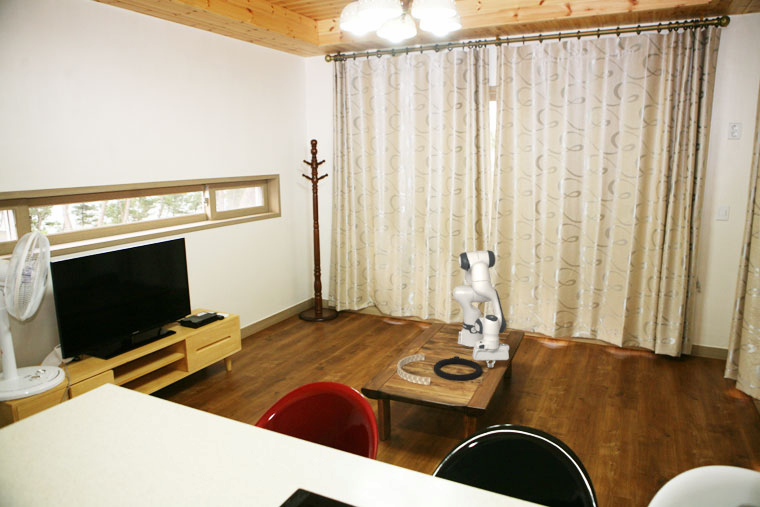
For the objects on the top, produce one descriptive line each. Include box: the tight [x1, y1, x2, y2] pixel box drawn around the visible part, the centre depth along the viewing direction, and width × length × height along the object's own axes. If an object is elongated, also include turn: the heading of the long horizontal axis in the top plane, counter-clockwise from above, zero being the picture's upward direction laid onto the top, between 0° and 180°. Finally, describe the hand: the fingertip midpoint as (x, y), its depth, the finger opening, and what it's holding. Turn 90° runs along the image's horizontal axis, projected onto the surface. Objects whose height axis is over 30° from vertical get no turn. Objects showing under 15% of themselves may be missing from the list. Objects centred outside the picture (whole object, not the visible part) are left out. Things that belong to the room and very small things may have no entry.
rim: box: [396, 353, 431, 386], centre depth 296 cm, size 37×17×4 cm, turn 0°
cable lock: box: [433, 355, 483, 382], centre depth 296 cm, size 28×4×30 cm
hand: (490, 367), depth 296 cm, fingers closed
